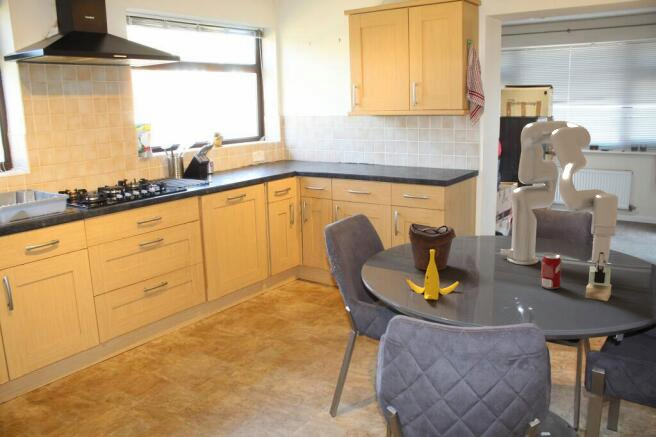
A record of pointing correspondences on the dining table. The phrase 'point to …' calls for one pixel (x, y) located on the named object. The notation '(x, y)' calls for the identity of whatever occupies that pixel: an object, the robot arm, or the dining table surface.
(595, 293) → the oak base block
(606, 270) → the sage block
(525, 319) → the dining table surface
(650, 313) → the dining table surface
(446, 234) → the brown flower pot
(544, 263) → the soda can
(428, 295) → the banana peel
